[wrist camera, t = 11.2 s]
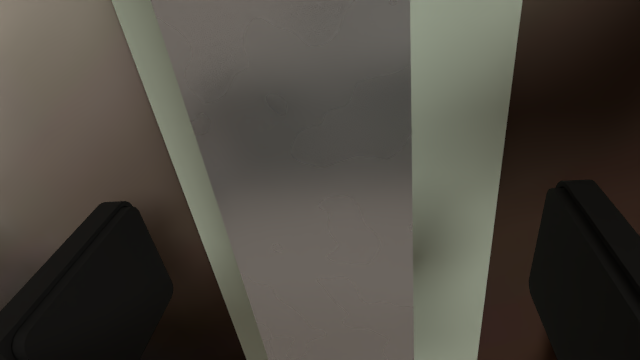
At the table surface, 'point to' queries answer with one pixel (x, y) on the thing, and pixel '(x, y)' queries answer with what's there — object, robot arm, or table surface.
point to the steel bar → (307, 163)
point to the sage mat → (427, 163)
